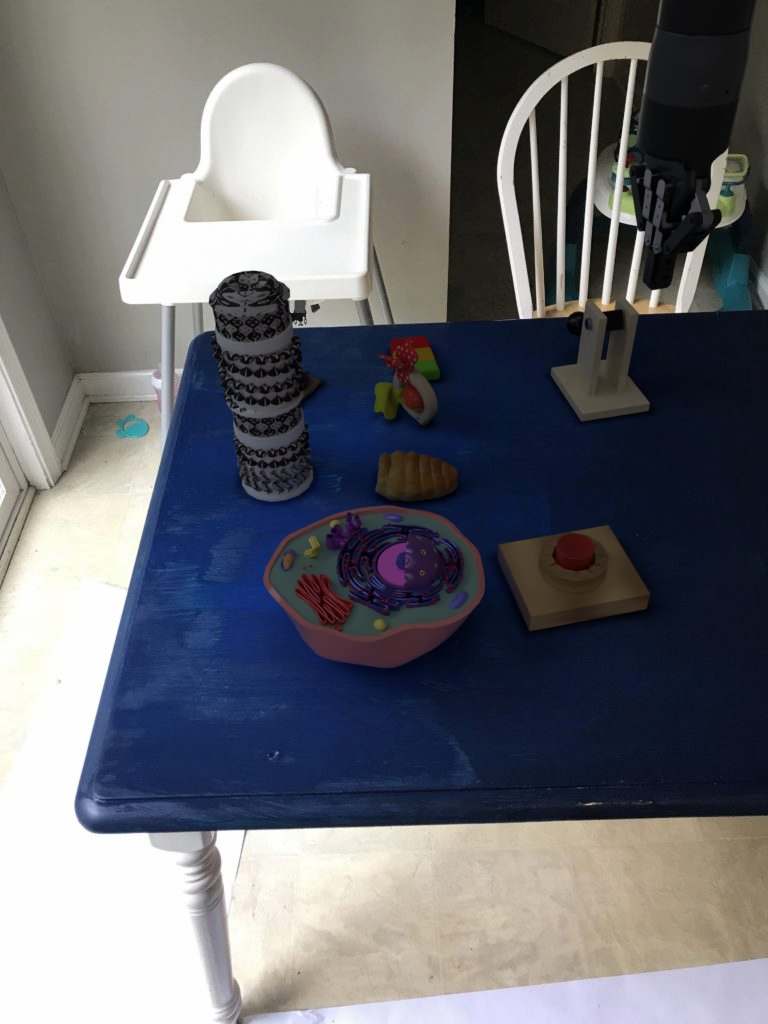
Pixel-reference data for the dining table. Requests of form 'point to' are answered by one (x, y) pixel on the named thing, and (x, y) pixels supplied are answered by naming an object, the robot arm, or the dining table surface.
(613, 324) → the lever
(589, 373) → the bracket
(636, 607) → the button block
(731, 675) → the dining table surface
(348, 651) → the cell model
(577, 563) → the button
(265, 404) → the decorative candle
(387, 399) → the bird rattle
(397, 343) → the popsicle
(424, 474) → the pastry
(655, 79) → the robot arm
